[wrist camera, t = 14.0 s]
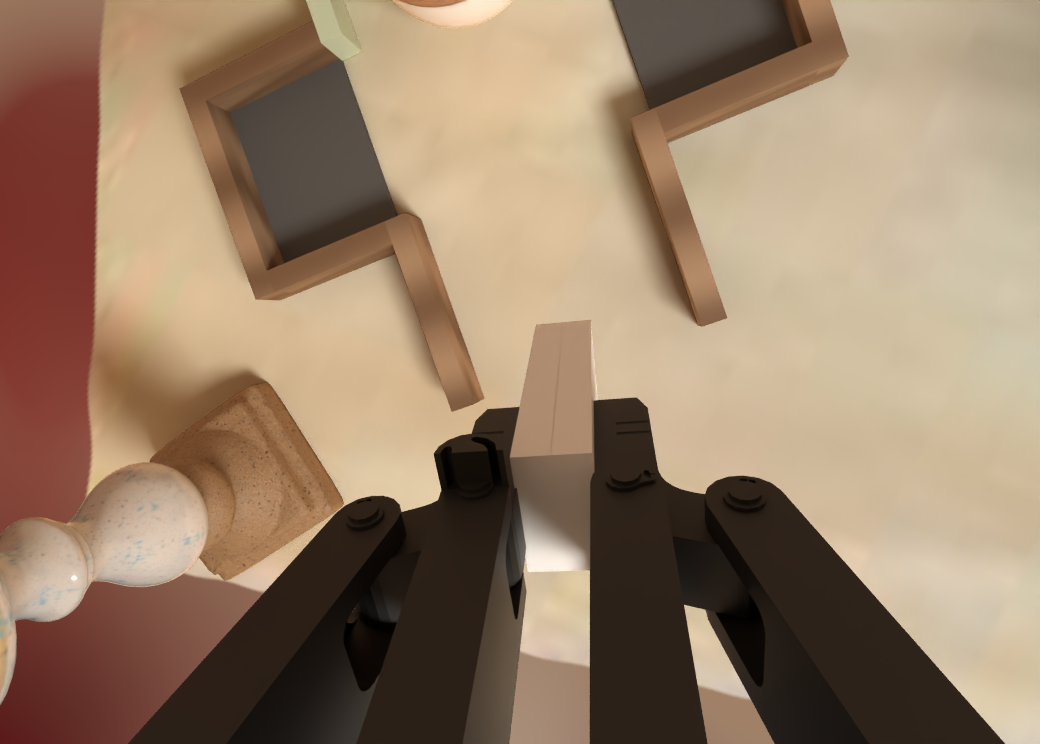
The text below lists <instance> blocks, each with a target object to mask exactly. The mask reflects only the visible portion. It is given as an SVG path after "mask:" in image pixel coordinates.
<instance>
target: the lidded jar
mask: <svg viewBox="0 0 1040 744" xmlns="http://www.w3.org/2000/svg"><path fill="white" fill-rule="evenodd" d="M392 1H393V2H394V3H395V4H396V5H398V6H399V7H400V8H401V9H403V10H404V11H405V12H407V13H409V14H410V15H412V16H413V17H415V18H417V19H419V20H421V21H423V22H426V23H428V24H431V25H434V26H438V27H443V28H466V27H472V26H475V25H478V24H481V23H483V22H485V21H487V20H489V19H491V18H493V17H495V16H496V15H497V14H499V13H500V12H502V11H503V10H504V9H505V8H506V7H507V6H508V5H509V4H510V3H511V2H512V1H513V0H392Z"/></svg>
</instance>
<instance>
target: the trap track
mask: <svg viewBox="0 0 1040 744" xmlns="http://www.w3.org/2000/svg"><path fill="white" fill-rule="evenodd" d="M306 2H307V5H308V8H309V10H310V13H311V16H312V19H313V21H312V22H310V23H308V24H306V25H304V26H302V27H300V28H298V29H296V30H294V31H292V32H290V33H288V34H286V35H284V36H282V37H280V38H278V39H276V40H274V41H272V42H270V43H268V44H266V45H264V46H263V47H261V48H259V49H257V50H255V51H253V52H251V53H249V54H247V55H245V56H243V57H241V58H239V59H237V60H235V61H233V62H231V63H229V64H227V65H225V66H223V67H221V68H219V69H217V70H215V71H213V72H211V73H209V74H207V75H205V76H203V77H201V78H200V79H198V80H196V81H194V82H192V83H190V84H188V85H186V86H184V87H182V88H180V91H181V94H182V97H183V99H184V102H185V105H186V108H187V111H188V113H189V116H190V119H191V122H192V124H193V127H194V130H195V133H196V135H197V138H198V141H199V144H200V147H201V149H202V152H203V155H204V158H205V160H206V163H207V166H208V169H209V171H210V174H211V177H212V180H213V183H214V185H215V188H216V191H217V194H218V196H219V199H220V202H221V205H222V208H223V210H224V213H225V216H226V219H227V221H228V224H229V227H230V230H231V232H232V235H233V238H234V241H235V244H236V246H237V249H238V252H239V255H240V257H241V260H242V263H243V266H244V268H245V271H246V274H247V277H248V280H249V282H250V285H251V288H252V291H253V293H254V296H255V299H257V300H282V299H284V298H287V297H289V296H292V295H294V294H297V293H299V292H302V291H304V290H307V289H309V288H312V287H314V286H316V285H319V284H321V283H324V282H326V281H329V280H331V279H334V278H336V277H339V276H341V275H344V274H346V273H348V272H351V271H353V270H356V269H358V268H361V267H363V266H366V265H368V264H371V263H373V262H376V261H378V260H381V259H383V258H385V257H388V256H390V255H393V254H395V253H396V256H397V258H398V261H399V264H400V267H401V270H402V273H403V275H404V278H405V281H406V284H407V287H408V289H409V292H410V295H411V298H412V301H413V304H414V306H415V309H416V312H417V315H418V318H419V321H420V323H421V326H422V329H423V332H424V335H425V337H426V340H427V343H428V346H429V349H430V352H431V354H432V357H433V360H434V363H435V366H436V368H437V371H438V374H439V377H440V380H441V383H442V385H443V388H444V391H445V394H446V397H447V399H448V402H449V405H450V408H451V411H455V410H458V409H461V408H464V407H467V406H470V405H473V404H475V403H477V402H479V401H480V400H482V399H484V396H483V393H482V390H481V387H480V385H479V382H478V379H477V376H476V373H475V371H474V368H473V365H472V362H471V359H470V356H469V354H468V351H467V348H466V345H465V342H464V339H463V337H462V334H461V331H460V328H459V325H458V322H457V320H456V317H455V314H454V311H453V308H452V305H451V303H450V300H449V297H448V294H447V291H446V288H445V286H444V283H443V280H442V277H441V274H440V271H439V269H438V266H437V263H436V260H435V257H434V254H433V252H432V249H431V246H430V243H429V240H428V237H427V235H426V232H425V229H424V226H423V223H422V221H421V219H419V218H417V217H414V216H412V215H409V214H407V213H403V214H401V215H398V216H397V213H396V210H395V207H394V204H393V201H392V199H391V196H390V193H389V190H388V187H387V185H386V182H385V179H384V176H383V173H382V170H381V168H380V165H379V162H378V159H377V156H376V153H375V151H374V148H373V145H372V142H371V139H370V137H369V134H368V131H367V128H366V125H365V122H364V120H363V117H362V114H361V111H360V108H359V105H358V103H357V100H356V97H355V94H354V91H353V89H352V86H351V83H350V80H349V77H348V74H347V72H346V69H345V66H344V63H343V61H344V60H346V59H348V58H350V57H352V56H354V55H356V54H358V53H360V52H362V51H361V48H360V45H359V42H358V39H357V37H356V34H355V31H354V28H353V25H352V22H351V20H350V17H349V14H348V11H347V8H346V5H345V3H344V0H306ZM613 3H614V6H615V8H616V11H617V14H618V17H619V20H620V23H621V26H622V29H623V32H624V35H625V38H626V41H627V43H628V46H629V49H630V52H631V55H632V58H633V61H634V64H635V67H636V70H637V73H638V76H639V78H640V81H641V84H642V87H643V90H644V93H645V96H646V99H647V102H648V105H649V108H650V110H649V111H646V112H644V113H641V114H639V115H637V116H634V117H632V118H631V129H632V134H633V137H634V140H635V143H636V146H637V149H638V152H639V155H640V157H641V160H642V163H643V166H644V169H645V172H646V175H647V178H648V181H649V184H650V186H651V189H652V192H653V195H654V198H655V201H656V204H657V207H658V210H659V213H660V216H661V218H662V221H663V224H664V227H665V230H666V233H667V236H668V239H669V242H670V245H671V248H672V250H673V253H674V256H675V259H676V262H677V265H678V268H679V271H680V274H681V277H682V279H683V282H684V285H685V288H686V291H687V294H688V297H689V300H690V303H691V306H692V309H693V311H694V314H695V317H696V320H697V323H698V326H705V325H708V324H711V323H714V322H717V321H720V320H723V319H726V318H727V316H726V313H725V310H724V307H723V304H722V301H721V298H720V295H719V292H718V290H717V287H716V284H715V281H714V278H713V275H712V272H711V269H710V266H709V263H708V260H707V257H706V255H705V252H704V249H703V246H702V243H701V240H700V237H699V234H698V231H697V228H696V225H695V222H694V220H693V217H692V214H691V211H690V208H689V205H688V202H687V199H686V196H685V193H684V190H683V187H682V185H681V182H680V179H679V176H678V173H677V170H676V167H675V164H674V161H673V158H672V155H671V152H670V150H669V147H668V144H667V143H669V142H671V141H674V140H676V139H679V138H681V137H684V136H686V135H688V134H691V133H693V132H696V131H698V130H701V129H703V128H706V127H708V126H711V125H713V124H716V123H718V122H720V121H723V120H725V119H728V118H730V117H733V116H735V115H738V114H740V113H743V112H745V111H748V110H750V109H753V108H755V107H757V106H760V105H762V104H765V103H767V102H770V101H772V100H775V99H777V98H780V97H782V96H785V95H787V94H789V93H792V92H794V91H797V90H799V89H802V88H804V87H807V86H809V85H812V84H814V83H817V82H819V81H821V80H824V79H826V78H829V77H831V76H834V74H835V73H836V72H837V70H838V69H839V68H840V67H841V65H842V64H843V63H844V62H845V60H846V59H847V58H848V57H849V55H848V53H847V50H846V47H845V44H844V41H843V38H842V35H841V32H840V29H839V26H838V23H837V20H836V17H835V14H834V11H833V8H832V5H831V2H830V0H613Z"/></svg>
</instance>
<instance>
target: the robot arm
mask: <svg viewBox="0 0 1040 744" xmlns="http://www.w3.org/2000/svg"><path fill="white" fill-rule="evenodd" d="M434 458H435V462H436V467H437V472H438V476H439V481H440V485H441V493H440V496H439V499H438V501H436V502H434V503H432V504H429V505H426V506H423V507H419V508H416V509H412V510H408V511H404V512H401V508H400V505H399V504H398V503H397V502H396V501H395V500H394V499H392V498H389V497H385V496H370V497H365V498H361V499H358V500H356V501H354V502H352V503H350V504H348V505H346V506H344V507H343V508H342V509H341V510H339V511H338V512H337V513H336V514H335V515H334V516H333V517H332V518H331V519H330V520H329V521H328V523H327V524H326V525H325V526H324V527H323V528H322V529H321V530H320V531H319V533H318V534H317V535H316V536H315V537H314V538H313V539H312V540H311V541H310V543H309V544H308V545H307V546H306V547H305V548H304V549H303V550H302V551H301V553H300V554H299V555H298V556H297V557H296V558H295V559H294V560H293V561H292V562H291V564H290V565H289V566H288V567H287V568H286V569H285V570H284V571H283V572H282V574H281V575H280V576H279V577H278V578H277V579H276V580H275V581H274V582H273V584H272V585H271V586H270V587H269V588H268V589H267V590H266V591H265V592H264V593H263V595H262V596H261V597H260V598H259V599H258V600H257V601H256V602H255V603H254V605H253V606H252V607H251V608H250V609H249V610H248V611H247V612H246V613H245V615H244V616H243V617H242V618H241V619H240V620H239V621H238V622H237V623H236V625H235V626H234V627H233V628H232V629H231V630H230V631H229V632H228V633H227V634H226V636H225V637H224V638H223V639H222V640H221V641H220V642H219V643H218V644H217V646H216V647H215V648H214V649H213V650H212V651H211V652H210V653H209V654H208V656H207V657H206V658H205V659H204V660H203V661H202V662H201V663H200V664H199V666H198V667H197V668H196V669H195V670H194V671H193V672H192V673H191V674H190V675H189V677H188V678H187V679H186V680H185V681H184V682H183V683H182V685H180V687H179V688H178V689H177V690H176V691H175V692H174V693H173V694H172V695H171V697H170V698H169V699H168V700H167V701H166V702H165V703H164V704H163V705H162V707H161V708H160V709H159V710H158V711H157V712H156V713H155V714H154V715H153V717H152V718H151V719H150V720H149V721H148V722H147V723H146V724H145V725H144V726H143V728H142V729H141V730H140V731H139V732H138V733H137V734H136V735H135V736H134V737H133V739H132V740H131V741H130V742H129V743H128V744H509V740H510V731H511V722H512V713H513V705H514V696H515V687H516V679H517V669H518V661H519V652H520V643H521V634H522V626H523V617H524V608H525V599H526V586H525V580H524V573H523V569H524V561H525V556H526V562H527V569H528V572H543V571H575V570H590V744H707V738H706V732H705V726H704V720H703V715H702V709H701V703H700V697H699V691H698V685H697V679H696V673H695V667H694V662H693V656H692V650H691V644H690V638H689V632H688V626H687V620H686V615H685V609H684V605H688V606H692V607H697V608H701V609H705V610H706V613H707V617H708V620H709V622H710V624H711V626H712V628H713V629H714V631H715V633H716V635H717V637H718V639H719V641H720V642H721V644H722V646H723V648H724V650H725V652H726V654H727V656H728V657H729V659H730V661H731V663H732V665H733V667H734V669H735V670H736V672H737V674H738V676H739V678H740V680H741V682H742V684H743V685H744V687H745V689H746V691H747V693H748V695H749V697H750V699H751V700H752V702H753V704H754V706H755V708H756V710H757V712H758V713H759V715H760V717H761V719H762V721H763V723H764V725H765V726H766V728H767V730H768V732H769V734H770V736H771V738H772V740H773V741H774V743H775V744H1005V743H1004V742H1003V741H1002V740H1001V739H1000V737H999V736H998V735H997V734H996V733H995V732H994V731H993V729H992V728H991V727H990V726H989V725H988V724H987V723H986V722H985V720H984V719H983V718H982V717H981V716H980V715H979V714H978V713H977V711H976V710H975V709H974V708H973V707H972V706H971V705H970V703H969V702H968V701H967V700H966V699H965V698H964V697H963V696H962V694H961V693H960V692H959V691H958V690H957V689H956V688H955V686H954V685H953V684H952V683H951V682H950V681H949V680H948V679H947V677H946V676H945V675H944V674H943V673H942V672H941V671H940V670H939V668H938V667H937V666H936V665H935V664H934V663H933V662H932V660H931V659H930V658H929V657H928V656H927V655H926V654H925V653H924V651H923V650H922V649H921V648H920V647H919V646H918V645H917V643H916V642H915V641H914V640H913V639H912V638H911V637H910V636H909V634H908V633H907V632H906V631H905V630H904V629H903V628H902V627H901V625H900V624H899V623H898V622H897V621H896V620H895V619H894V617H893V616H892V615H891V614H890V613H889V612H888V611H887V610H886V608H885V607H884V606H883V605H882V604H881V603H880V602H879V600H878V599H877V598H876V597H875V596H874V595H873V594H872V593H871V591H870V590H869V589H868V588H867V587H866V586H865V585H864V584H863V582H862V581H861V580H860V579H859V578H858V577H857V576H856V574H855V573H854V572H853V571H852V570H851V569H850V568H849V567H848V565H847V564H846V563H845V562H844V561H843V560H842V559H841V557H840V556H839V555H838V554H837V553H836V552H835V551H834V550H833V548H832V547H831V546H830V545H829V544H828V543H827V542H826V541H825V539H824V538H823V537H822V536H821V535H820V534H819V533H818V531H817V530H816V529H815V528H814V527H813V526H812V525H811V524H810V522H809V521H808V520H807V519H806V518H805V517H804V516H803V514H802V513H801V512H800V511H799V510H798V509H797V508H796V507H795V505H794V504H793V503H792V502H791V501H790V500H789V499H788V498H787V496H786V495H785V494H784V493H783V492H782V491H781V490H780V489H779V488H777V487H776V486H775V485H773V484H772V483H770V482H767V481H765V480H762V479H760V478H755V477H748V476H732V477H726V478H723V479H720V480H717V481H715V482H714V483H713V484H712V485H710V486H709V487H708V488H707V491H706V494H700V493H693V492H689V491H685V490H681V489H679V488H676V487H674V486H672V485H671V484H669V483H668V482H666V481H665V480H664V479H663V478H662V477H661V475H660V473H659V471H658V467H657V461H656V455H655V449H654V443H653V437H652V433H651V426H650V420H649V414H648V408H647V407H646V406H645V405H644V404H643V403H642V402H641V401H640V400H639V399H638V398H623V399H608V400H598V396H597V385H596V373H595V362H594V350H593V339H592V328H591V320H585V321H574V322H562V323H550V324H539V325H536V327H535V332H534V337H533V342H532V347H531V352H530V357H529V363H528V368H527V373H526V378H525V383H524V388H523V393H522V398H521V403H520V407H514V408H499V409H487V410H486V411H485V412H484V413H483V414H482V415H481V416H480V417H479V418H478V419H477V420H476V422H475V425H474V428H473V431H472V434H467V435H461V436H458V437H455V438H453V439H450V440H448V441H446V442H445V443H443V444H442V445H441V446H439V447H438V449H437V450H436V451H435V453H434ZM354 608H355V609H354ZM352 611H353V612H352Z"/></svg>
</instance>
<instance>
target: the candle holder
mask: <svg viewBox="0 0 1040 744" xmlns="http://www.w3.org/2000/svg"><path fill="white" fill-rule="evenodd" d="M343 504H344V503H343V499H342V497H341V495H340V494H339V492H338V490H337V488H336V487H335V485H334V483H333V481H332V480H331V478H330V477H329V475H328V473H327V472H326V470H325V469H324V467H323V466H322V464H321V462H320V461H319V459H318V458H317V456H316V455H315V453H314V451H313V450H312V448H311V447H310V445H309V443H308V442H307V440H306V439H305V437H304V436H303V434H302V432H301V431H300V429H299V428H298V426H297V425H296V423H295V421H294V420H293V418H292V417H291V415H290V414H289V412H288V410H287V409H286V407H285V406H284V404H283V402H282V401H281V399H280V398H279V397H278V395H277V394H276V392H275V391H274V390H273V388H272V387H271V385H269V384H268V383H267V382H266V383H262V384H257V385H252V386H250V387H248V388H246V389H244V390H243V391H241V392H240V393H238V394H236V395H235V396H233V397H232V398H230V399H229V400H228V401H226V402H225V403H224V404H222V405H221V406H219V407H218V408H217V409H215V410H214V411H213V412H211V413H210V414H208V415H207V416H206V417H204V418H203V419H202V420H200V421H199V422H198V423H196V424H195V425H193V426H192V427H191V428H189V429H188V430H187V431H185V432H184V433H182V434H181V435H180V436H178V437H177V438H176V439H174V440H173V441H171V442H170V443H169V444H167V445H166V446H165V447H163V448H162V449H161V450H160V451H159V452H158V453H156V454H155V455H154V456H153V457H152V458H151V459H150V463H145V462H143V463H137V464H132V465H128V466H125V467H122V468H120V469H118V470H116V471H114V472H112V473H111V474H109V475H108V476H106V477H105V478H104V479H103V480H101V481H100V482H99V483H98V484H97V485H96V486H95V487H94V488H93V490H92V491H91V492H90V493H89V495H88V496H87V497H86V499H85V500H84V502H83V503H82V505H81V507H80V509H79V510H78V512H77V514H76V515H75V516H74V517H73V518H72V520H71V521H69V523H67V524H64V523H62V522H57V521H53V520H50V519H46V518H41V517H31V518H25V519H22V520H19V521H17V522H15V523H13V524H11V525H10V526H9V527H8V528H6V529H5V530H4V531H3V532H2V534H1V535H0V704H1V703H2V701H3V699H4V697H5V695H6V693H7V690H8V688H9V684H10V682H11V679H12V676H13V672H14V666H15V660H16V646H17V637H16V627H15V621H16V620H19V619H30V620H34V621H41V622H48V621H54V620H57V619H60V618H62V617H64V616H66V615H68V614H69V613H71V612H72V611H73V610H74V609H75V608H76V607H77V605H79V603H80V602H81V600H82V598H83V597H84V594H85V592H86V590H87V589H88V587H89V585H90V583H91V582H92V581H107V582H111V583H115V584H119V585H124V586H134V587H146V586H154V585H159V584H162V583H165V582H168V581H171V580H173V579H175V578H177V577H178V576H180V575H182V574H183V573H185V572H186V571H187V570H188V569H190V568H191V566H192V565H193V564H194V563H195V562H196V561H197V559H198V558H200V559H201V561H202V562H203V563H204V564H205V566H206V567H207V568H208V570H209V571H211V572H212V573H213V574H214V575H216V574H219V575H220V576H221V577H222V578H223V579H224V581H225V580H228V579H231V578H233V577H235V576H236V575H238V574H240V573H242V572H243V571H245V570H247V569H248V568H250V567H251V566H253V565H255V564H256V563H258V562H259V561H261V560H263V559H264V558H266V557H267V556H269V555H270V554H272V553H273V552H275V551H276V550H278V549H280V548H281V547H283V546H284V545H286V544H287V543H289V542H290V541H292V540H293V539H295V538H296V537H298V536H300V535H301V534H303V533H304V532H306V531H307V530H309V529H310V528H312V527H313V526H315V525H317V524H318V523H320V522H321V521H323V520H324V519H326V518H327V517H329V516H330V515H331V514H333V513H334V512H336V511H337V510H338V509H340V508H341V507H342V505H343Z"/></svg>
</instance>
